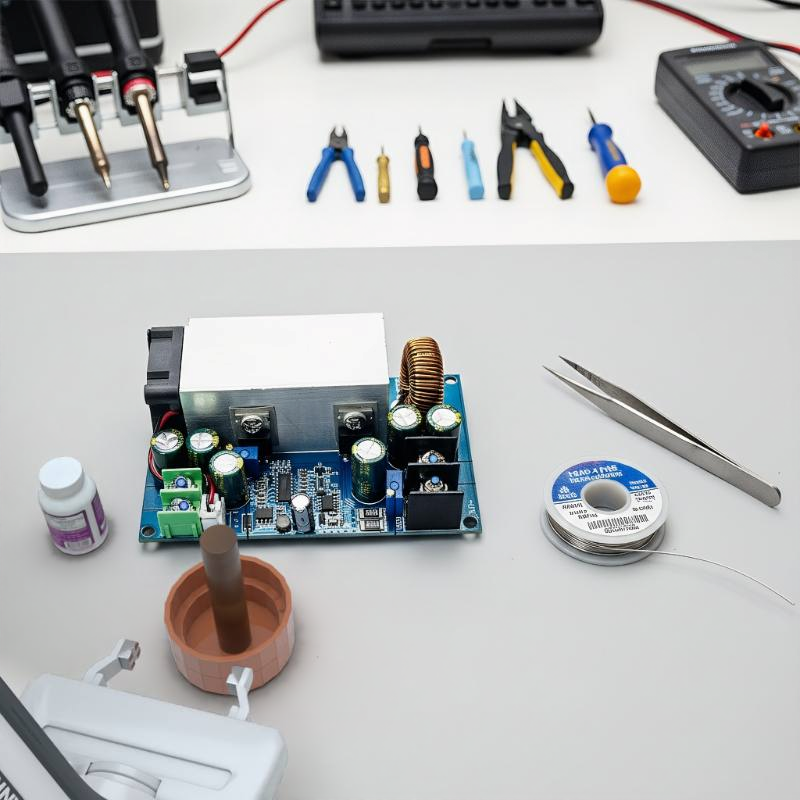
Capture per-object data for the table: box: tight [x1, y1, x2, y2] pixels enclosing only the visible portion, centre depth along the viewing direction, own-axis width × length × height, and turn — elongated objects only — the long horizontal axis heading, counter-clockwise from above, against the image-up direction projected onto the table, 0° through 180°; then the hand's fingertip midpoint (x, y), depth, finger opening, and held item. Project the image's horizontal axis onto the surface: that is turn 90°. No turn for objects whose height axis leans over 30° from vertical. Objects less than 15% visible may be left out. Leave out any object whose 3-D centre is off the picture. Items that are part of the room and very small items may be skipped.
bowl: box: [163, 554, 296, 695], centre depth 89 cm, size 11×11×6 cm
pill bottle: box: [37, 456, 109, 556], centre depth 96 cm, size 5×5×10 cm
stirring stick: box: [199, 523, 252, 654], centre depth 85 cm, size 3×3×15 cm
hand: (187, 656), depth 78 cm, fingers open, 8 cm apart
